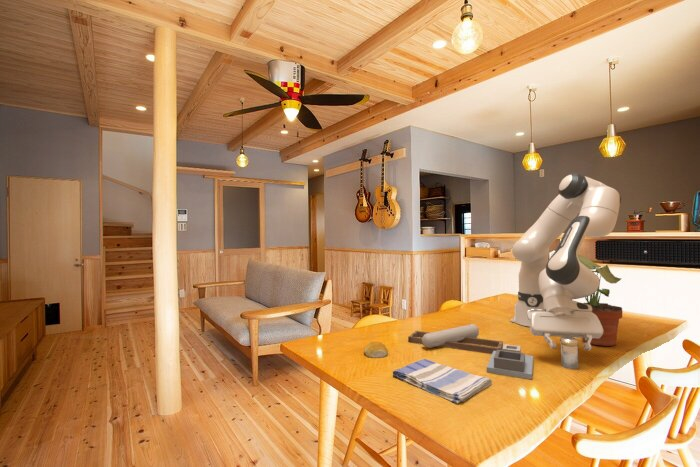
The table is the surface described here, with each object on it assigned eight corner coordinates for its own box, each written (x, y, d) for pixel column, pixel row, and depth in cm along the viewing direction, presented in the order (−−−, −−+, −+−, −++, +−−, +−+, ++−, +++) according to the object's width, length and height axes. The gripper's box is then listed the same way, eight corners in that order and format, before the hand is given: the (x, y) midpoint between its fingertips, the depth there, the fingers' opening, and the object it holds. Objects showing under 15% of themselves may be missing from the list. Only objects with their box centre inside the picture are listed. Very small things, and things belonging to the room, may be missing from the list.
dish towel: (459, 408, 84) (459, 396, 84) (390, 378, 102) (389, 368, 102) (495, 386, 95) (494, 376, 95) (426, 363, 113) (426, 354, 113)
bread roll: (384, 349, 126) (384, 338, 126) (390, 357, 118) (389, 346, 118) (362, 350, 125) (362, 339, 125) (366, 359, 117) (366, 347, 117)
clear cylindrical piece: (560, 362, 109) (559, 335, 109) (578, 364, 106) (577, 337, 106) (561, 367, 104) (560, 340, 104) (579, 370, 102) (579, 342, 102)
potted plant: (570, 344, 125) (568, 249, 125) (578, 334, 136) (576, 247, 136) (625, 353, 114) (622, 249, 114) (629, 342, 125) (626, 247, 125)
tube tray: (415, 335, 141) (415, 330, 141) (502, 346, 124) (502, 341, 124) (408, 342, 133) (408, 336, 133) (500, 354, 117) (500, 349, 117)
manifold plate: (493, 354, 117) (493, 341, 117) (533, 360, 111) (532, 346, 111) (486, 372, 103) (486, 357, 103) (531, 379, 97) (531, 363, 97)
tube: (429, 339, 121) (480, 328, 132) (420, 331, 125) (470, 321, 136) (426, 352, 122) (477, 340, 133) (417, 343, 127) (467, 332, 138)
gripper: (526, 303, 116) (534, 341, 106) (596, 305, 110) (611, 345, 100) (524, 313, 120) (531, 351, 111) (591, 316, 114) (605, 355, 105)
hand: (570, 348), depth 105 cm, fingers open, 8 cm apart
